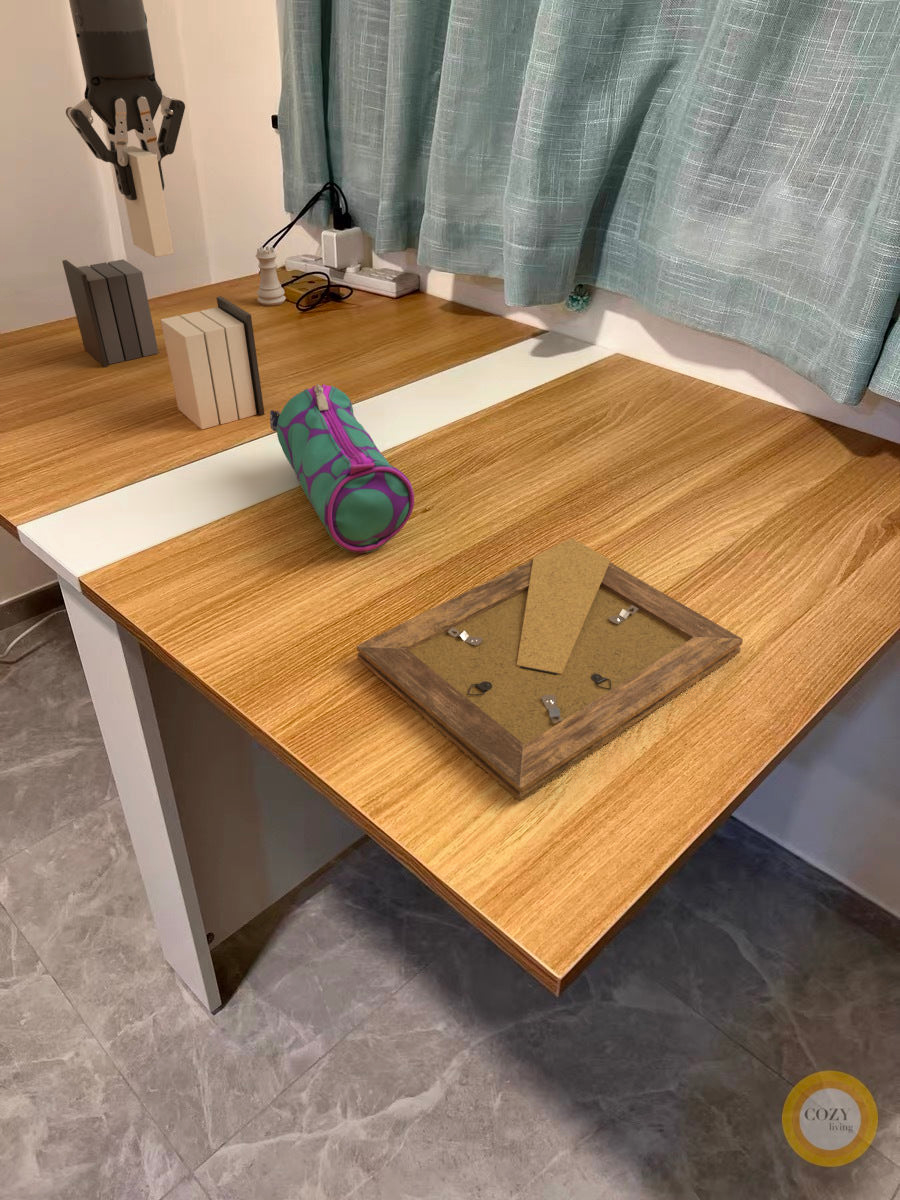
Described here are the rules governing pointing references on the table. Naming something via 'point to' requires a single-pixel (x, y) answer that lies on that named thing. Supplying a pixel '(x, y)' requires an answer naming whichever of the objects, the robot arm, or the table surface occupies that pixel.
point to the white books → (214, 364)
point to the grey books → (112, 311)
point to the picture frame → (546, 662)
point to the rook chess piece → (269, 279)
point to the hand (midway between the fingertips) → (143, 196)
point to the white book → (148, 205)
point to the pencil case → (342, 470)
